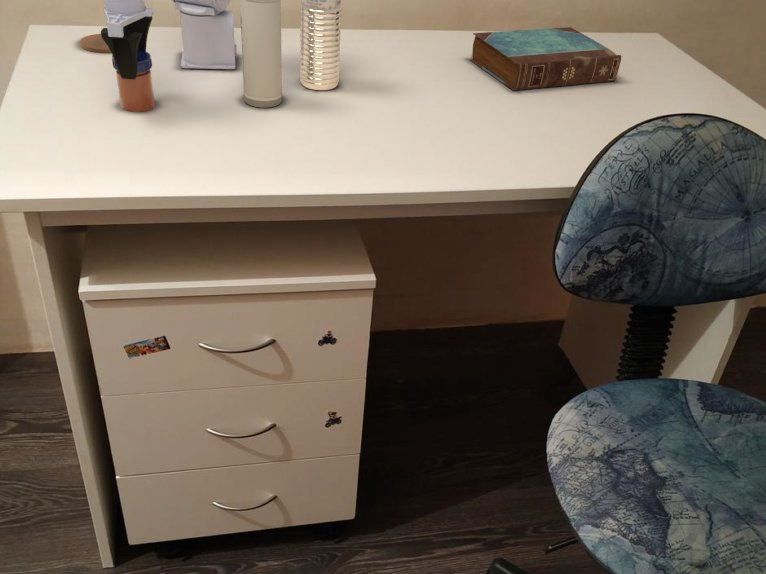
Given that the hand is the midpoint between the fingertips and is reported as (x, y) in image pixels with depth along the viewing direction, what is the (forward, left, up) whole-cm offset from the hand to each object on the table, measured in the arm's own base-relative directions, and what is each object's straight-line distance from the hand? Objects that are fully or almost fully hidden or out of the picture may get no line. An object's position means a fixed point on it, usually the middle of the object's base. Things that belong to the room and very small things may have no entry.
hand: (133, 71), depth 125 cm
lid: (0, 0, +2) cm, 2 cm away
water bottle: (-30, -11, -6) cm, 32 cm away
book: (-74, -21, -6) cm, 77 cm away
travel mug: (-20, -3, -6) cm, 21 cm away
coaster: (+8, -29, -5) cm, 31 cm away
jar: (0, 0, -5) cm, 5 cm away
